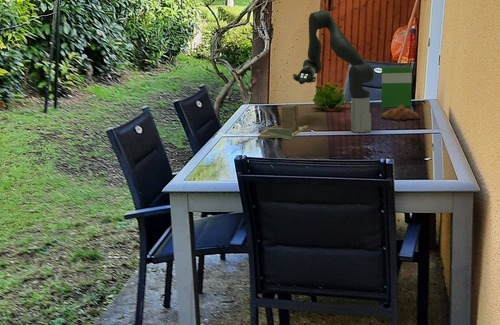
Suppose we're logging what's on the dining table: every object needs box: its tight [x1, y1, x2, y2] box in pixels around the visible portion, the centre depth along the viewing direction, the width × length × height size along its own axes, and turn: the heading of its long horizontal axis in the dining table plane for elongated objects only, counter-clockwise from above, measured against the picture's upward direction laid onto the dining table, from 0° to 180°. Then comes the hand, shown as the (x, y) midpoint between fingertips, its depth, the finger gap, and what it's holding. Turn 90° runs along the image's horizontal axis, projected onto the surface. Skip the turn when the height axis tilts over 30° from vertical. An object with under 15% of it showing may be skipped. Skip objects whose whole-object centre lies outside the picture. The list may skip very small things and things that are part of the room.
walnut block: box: [281, 104, 300, 133], centre depth 309 cm, size 8×6×13 cm
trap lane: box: [256, 125, 309, 140], centre depth 310 cm, size 27×18×5 cm, turn 157°
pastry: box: [380, 105, 421, 121], centre depth 334 cm, size 17×15×8 cm
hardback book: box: [381, 66, 413, 108], centre depth 373 cm, size 18×7×24 cm, turn 76°
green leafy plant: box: [312, 81, 351, 112], centre depth 373 cm, size 25×24×18 cm
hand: (301, 82), depth 315 cm, fingers closed
